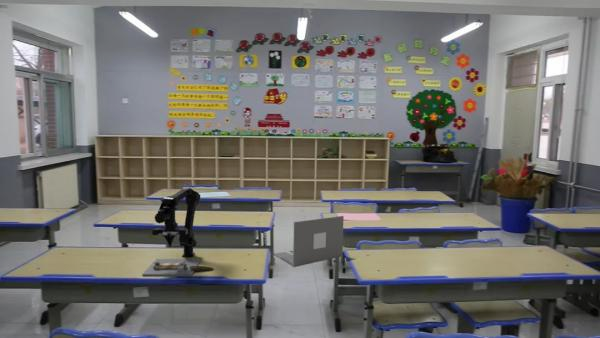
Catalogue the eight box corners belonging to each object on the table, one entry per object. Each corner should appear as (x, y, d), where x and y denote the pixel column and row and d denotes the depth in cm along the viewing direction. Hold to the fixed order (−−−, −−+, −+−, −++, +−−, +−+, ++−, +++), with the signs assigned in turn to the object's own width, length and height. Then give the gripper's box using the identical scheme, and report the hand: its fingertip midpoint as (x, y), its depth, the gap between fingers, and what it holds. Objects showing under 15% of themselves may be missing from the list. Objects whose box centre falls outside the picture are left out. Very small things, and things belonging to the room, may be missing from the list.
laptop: (318, 248, 279) (319, 208, 276) (342, 259, 257) (343, 216, 254) (272, 256, 261) (273, 213, 258) (294, 268, 239) (294, 222, 236)
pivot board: (156, 260, 247) (156, 258, 247) (200, 260, 248) (200, 259, 248) (142, 275, 222) (142, 274, 222) (191, 276, 223) (191, 274, 223)
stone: (189, 271, 228) (189, 267, 228) (189, 268, 233) (189, 264, 232) (213, 271, 231) (213, 268, 231) (213, 268, 236) (213, 264, 235)
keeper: (180, 267, 233) (180, 261, 233) (185, 267, 233) (185, 261, 233) (177, 271, 227) (177, 265, 227) (183, 271, 227) (183, 265, 227)
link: (152, 269, 229) (152, 263, 229) (154, 266, 233) (154, 261, 233) (185, 268, 231) (185, 263, 231) (187, 266, 235) (186, 261, 234)
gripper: (189, 216, 243) (190, 242, 244) (157, 215, 242) (157, 242, 244) (185, 220, 232) (185, 248, 233) (151, 220, 231) (152, 247, 232)
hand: (170, 246), depth 236 cm, fingers closed
